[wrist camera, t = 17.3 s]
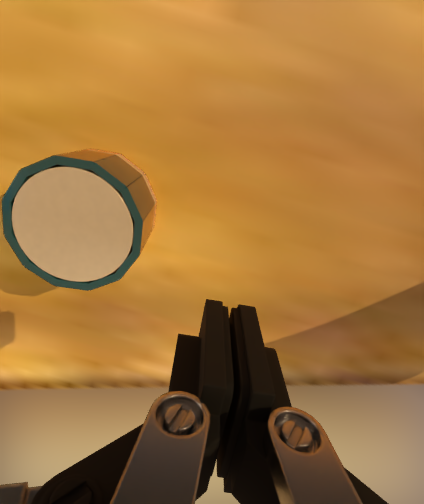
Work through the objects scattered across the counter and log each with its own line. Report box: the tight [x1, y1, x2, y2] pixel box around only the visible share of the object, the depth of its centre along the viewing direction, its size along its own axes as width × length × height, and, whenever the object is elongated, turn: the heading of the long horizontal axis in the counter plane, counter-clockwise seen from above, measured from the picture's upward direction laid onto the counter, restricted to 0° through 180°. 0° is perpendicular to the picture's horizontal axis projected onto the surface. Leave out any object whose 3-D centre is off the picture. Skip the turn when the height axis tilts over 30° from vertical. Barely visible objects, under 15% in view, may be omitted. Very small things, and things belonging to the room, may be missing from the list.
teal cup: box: [2, 149, 157, 291], centre depth 22 cm, size 8×8×6 cm
